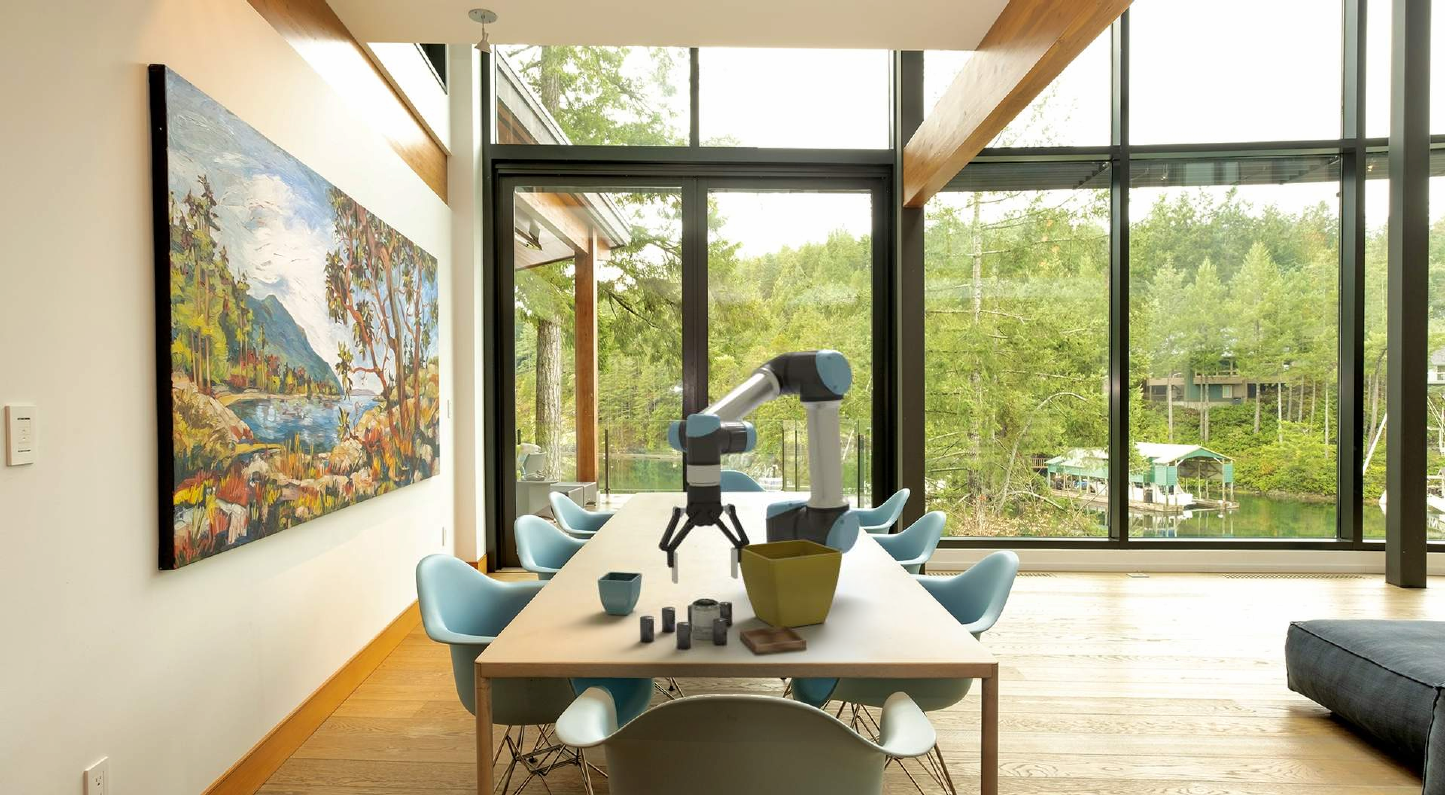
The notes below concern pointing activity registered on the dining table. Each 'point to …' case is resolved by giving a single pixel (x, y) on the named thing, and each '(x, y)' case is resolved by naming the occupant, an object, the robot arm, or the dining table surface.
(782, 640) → the tray
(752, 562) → the flower pot
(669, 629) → the spacers
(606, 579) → the flower pot
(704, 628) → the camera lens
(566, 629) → the dining table surface
